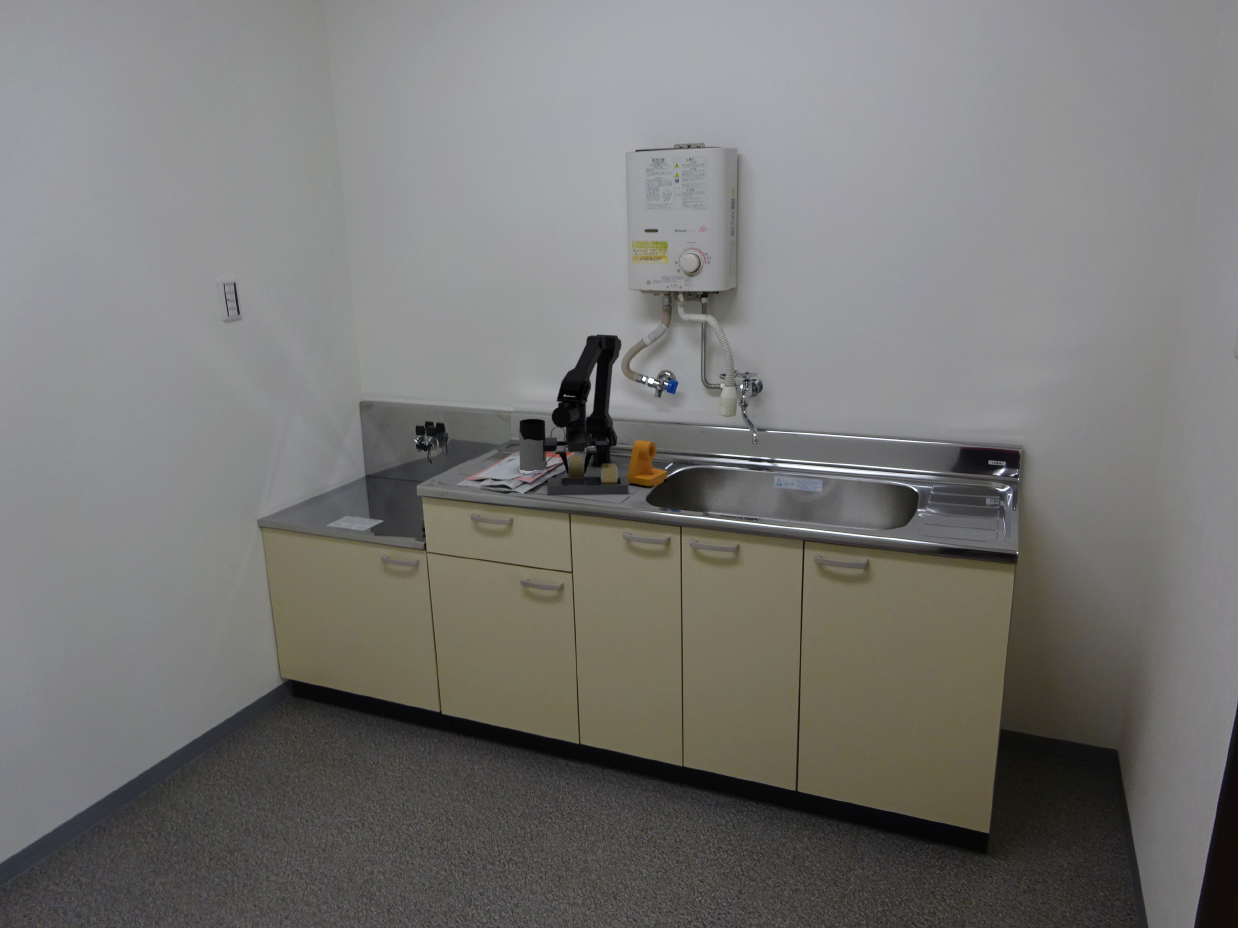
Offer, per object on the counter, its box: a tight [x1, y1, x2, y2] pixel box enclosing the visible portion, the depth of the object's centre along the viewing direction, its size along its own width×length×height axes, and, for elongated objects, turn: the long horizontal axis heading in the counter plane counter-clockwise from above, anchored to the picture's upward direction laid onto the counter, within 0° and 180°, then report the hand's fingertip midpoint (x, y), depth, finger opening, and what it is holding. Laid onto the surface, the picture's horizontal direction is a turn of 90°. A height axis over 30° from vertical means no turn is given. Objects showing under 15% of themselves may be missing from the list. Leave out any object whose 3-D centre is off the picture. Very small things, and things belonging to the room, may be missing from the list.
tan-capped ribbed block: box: [600, 463, 619, 485], centre depth 242 cm, size 4×4×7 cm
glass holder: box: [518, 418, 566, 471], centre depth 259 cm, size 9×14×15 cm, turn 87°
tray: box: [546, 476, 629, 496], centre depth 242 cm, size 8×22×2 cm, turn 93°
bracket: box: [626, 439, 668, 487], centre depth 249 cm, size 11×7×12 cm, turn 148°
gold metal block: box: [567, 454, 585, 478], centre depth 250 cm, size 4×4×7 cm
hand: (576, 473), depth 250 cm, fingers closed on gold metal block, 4 cm apart
